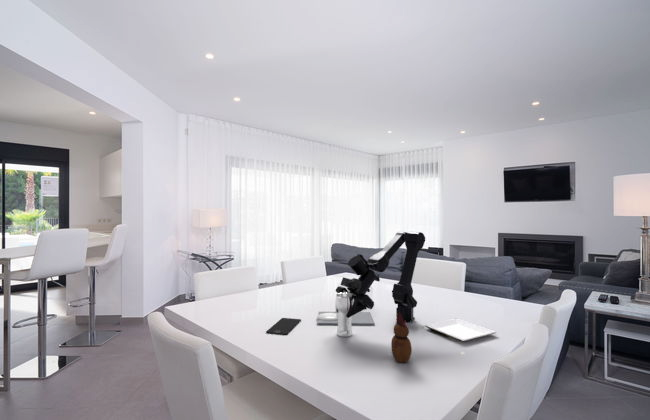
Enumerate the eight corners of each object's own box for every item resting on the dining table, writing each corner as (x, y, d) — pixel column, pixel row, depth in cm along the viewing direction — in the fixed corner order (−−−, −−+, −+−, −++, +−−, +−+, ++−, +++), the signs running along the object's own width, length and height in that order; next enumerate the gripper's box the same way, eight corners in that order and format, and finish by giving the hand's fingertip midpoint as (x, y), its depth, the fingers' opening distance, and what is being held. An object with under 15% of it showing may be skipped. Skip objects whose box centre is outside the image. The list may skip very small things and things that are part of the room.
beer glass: (352, 338, 119) (352, 297, 119) (334, 336, 121) (334, 296, 121) (354, 331, 126) (354, 293, 126) (337, 330, 128) (337, 292, 128)
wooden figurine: (389, 355, 104) (389, 309, 104) (406, 355, 105) (406, 309, 105) (395, 365, 97) (395, 315, 98) (413, 364, 98) (413, 315, 98)
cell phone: (265, 334, 124) (265, 331, 124) (282, 319, 142) (282, 317, 142) (286, 336, 122) (286, 333, 122) (301, 321, 140) (301, 319, 140)
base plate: (370, 313, 149) (370, 311, 149) (374, 325, 133) (374, 322, 133) (318, 313, 150) (318, 311, 150) (316, 324, 134) (316, 322, 134)
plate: (463, 346, 113) (463, 340, 113) (424, 329, 129) (424, 324, 129) (497, 337, 121) (496, 331, 122) (456, 322, 138) (456, 317, 138)
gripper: (339, 266, 134) (316, 296, 128) (368, 273, 118) (343, 308, 112) (354, 283, 138) (332, 313, 132) (384, 292, 122) (361, 326, 116)
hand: (341, 314), depth 123 cm, fingers closed on beer glass, 7 cm apart
